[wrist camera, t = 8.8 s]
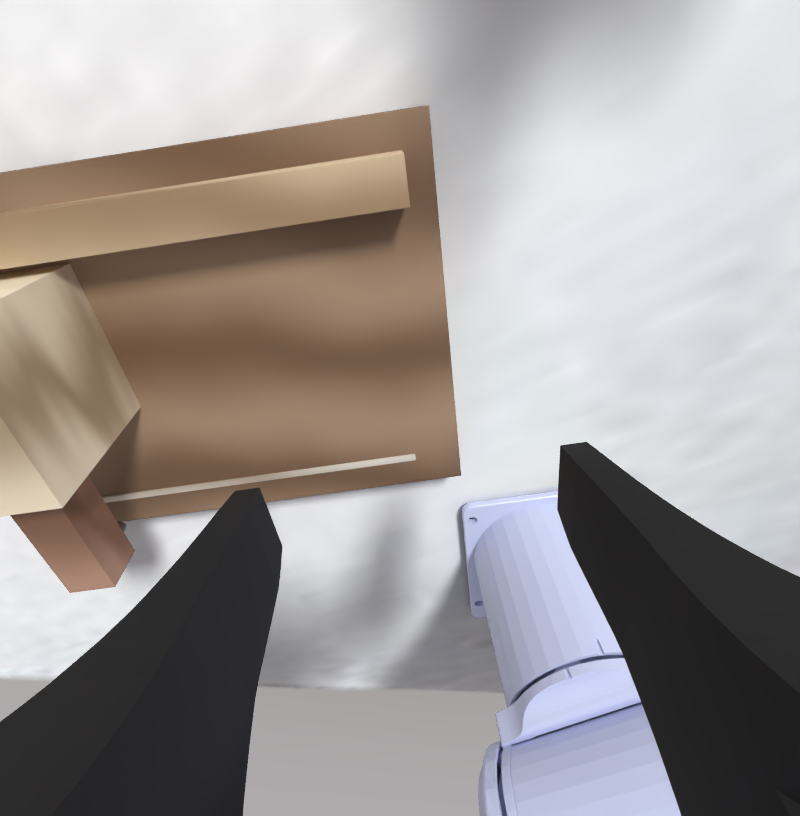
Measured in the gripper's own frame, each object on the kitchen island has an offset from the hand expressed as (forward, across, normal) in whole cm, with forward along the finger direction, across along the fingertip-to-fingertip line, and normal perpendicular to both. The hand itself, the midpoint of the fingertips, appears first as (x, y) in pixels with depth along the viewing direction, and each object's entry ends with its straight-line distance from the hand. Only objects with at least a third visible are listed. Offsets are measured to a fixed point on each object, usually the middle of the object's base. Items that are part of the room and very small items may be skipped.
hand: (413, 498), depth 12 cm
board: (+10, +8, 0) cm, 13 cm away
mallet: (+9, +13, +1) cm, 16 cm away
